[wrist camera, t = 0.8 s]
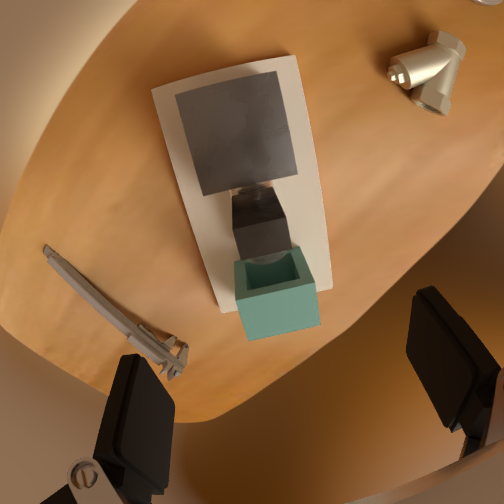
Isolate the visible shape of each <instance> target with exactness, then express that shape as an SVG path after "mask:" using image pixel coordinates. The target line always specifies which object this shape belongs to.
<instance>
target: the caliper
mask: <svg viewBox="0 0 504 504" xmlns="http://www.w3.org/2000/svg"><path fill="white" fill-rule="evenodd" d="M43 252H44V254H45V256H46V257H47V258H48V261H47V262H48V263H49V264H50V265H51V266H52V267H53V268H54V269H55V271H56V272H57V273H58V274H59V275H60V276H61V277H62V278H63V279H64V280H65V281H66V282H67V283H68V284H69V285H70V286H71V287H72V288H73V289H74V290H75V291H76V292H78V293H79V294H80V295H81V296H82V297H83V298H84V299H85V300H86V301H87V302H88V303H89V304H90V305H91V306H92V307H94V308H95V309H96V310H97V311H98V312H99V313H100V314H101V315H102V316H104V317H105V318H106V319H107V320H108V321H109V322H110V323H112V324H113V325H114V326H115V327H116V328H117V329H118V330H120V331H121V332H122V333H123V334H124V335H126V336H127V337H128V338H127V340H128V341H129V342H130V343H131V344H132V345H133V346H135V347H136V348H137V349H138V350H140V351H141V352H142V353H143V354H145V355H146V356H147V357H148V358H150V359H151V360H152V361H153V362H155V363H156V364H157V365H160V364H162V365H163V369H162V370H161V372H160V375H161V374H164V373H166V372H167V371H168V370H169V371H168V373H167V378H168V381H170V380H171V379H173V378H174V377H176V378H177V377H178V376H179V375H180V374H181V373H182V371H183V370H184V368H185V366H186V364H187V358H188V350H189V346H188V345H187V344H186V343H185V344H184V345H183V346H182V347H181V348H180V350H179V352H178V354H177V356H176V357H175V356H174V355H173V354H171V353H170V350H171V349H172V347H173V345H174V343H175V342H176V339H177V337H175V336H174V335H173V336H172V337H170V338H169V339H167V340H166V341H164V342H163V343H161V342H160V341H158V340H157V338H156V337H155V335H154V334H153V333H152V332H151V331H150V330H148V329H146V328H145V326H144V325H143V324H142V323H139V324H138V325H136V324H134V323H133V322H132V321H131V320H130V319H129V318H127V317H126V316H125V315H124V314H123V313H122V312H120V311H119V310H118V309H117V308H116V307H115V306H114V305H112V304H111V303H110V302H109V301H108V300H107V299H106V298H105V297H104V296H103V295H101V294H100V293H99V292H98V291H97V290H96V289H95V288H94V287H93V286H92V285H91V284H90V283H89V282H88V281H87V280H86V279H85V278H83V277H82V276H81V275H80V274H79V273H78V272H77V271H76V270H75V269H74V268H73V267H72V266H71V265H70V264H69V263H68V262H67V261H66V260H65V259H64V258H63V257H62V256H60V255H59V254H58V253H57V252H54V251H53V250H52V249H51V248H50V247H49V246H48V245H46V246H45V248H44V250H43Z"/></svg>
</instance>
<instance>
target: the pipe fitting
mask: <svg viewBox="0 0 504 504" xmlns="http://www.w3.org/2000/svg"><path fill="white" fill-rule="evenodd" d="M427 45H428V46H426V47H422V48H419V49H415V50H412V51H409V52H406V53H402V54H399V55H396V56H393V57H391V59H390V67H388V72H387V73H386V75H387V78H388V79H389V81H393V82H394V83H395V84H399V85H400V86H401V87H402V88H404V89H407V90H408V89H411V88H413V92H412V95H411V98H410V99H411V100H412V101H413V102H414V103H415V104H416V105H418V106H419V107H421V108H423V109H425V110H427V111H429V112H431V113H434V114H436V115H439V116H448V113H449V110H450V107H451V102H450V100H449V99H450V96H451V93H452V89H453V86H454V82H455V79H456V75H457V71H458V68H459V64H460V61H462V60H464V57H465V52H466V48H465V46H464V44H463V43H462V41H461V40H460V39H458V38H457V37H455V36H454V35H452V34H449V33H447V32H443V31H433V32H431V33H430V34H429V37H428V41H427Z"/></svg>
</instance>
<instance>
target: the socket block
mask: <svg viewBox="0 0 504 504" xmlns="http://www.w3.org/2000/svg"><path fill="white" fill-rule="evenodd" d="M234 281H235V302H236V305H237V308H238V311H239V314H240V317H241V320H242V323H243V326H244V329H245V332H246V335H247V338H248V341H252V340H257V339H261V338H266V337H271V336H275V335H280V334H284V333H289V332H293V331H297V330H302V329H306V328H310V327H314V326H318V325H321V324H320V316H319V308H318V300H317V292H316V284H315V281H314V278H313V276H312V274H311V271H310V269H309V267H308V264H307V262H306V260H305V257H304V255H303V253H302V250H301V248H300V246H299V247H295V248H292V249H290V250H287V252H286V254H285V256H284V257H283V258H281V259H280V260H278V261H276V262H273V263H270V264H265V265H256V264H252V263H250V262H249V261H248V260H242V261H241V260H238V261H234Z"/></svg>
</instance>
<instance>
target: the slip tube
mask: <svg viewBox="0 0 504 504" xmlns="http://www.w3.org/2000/svg"><path fill="white" fill-rule="evenodd" d="M229 193H230V197H231V201H232V230H233V234H234V237H235V241H236V245H237V248H238V252H239V255H240V259H241V261H242V260H248V261H249V262H250V263H252V264H256V265H265V264H270V263H273V262H276V261H278V260H280V259H281V258H283V257H284V256H285V254H286V252H287V250H290V249H292V244H291V239H290V233H289V228H288V223H287V218H286V215H285V213H284V211H283V208H282V206H281V204H280V202H279V200H278V197H277V195H276V193H275V189H274V185H273V180H270V181H265V182H261V183H257V184H252V185H248V186H244V187H240V188H235V189H231V190H229Z"/></svg>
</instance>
